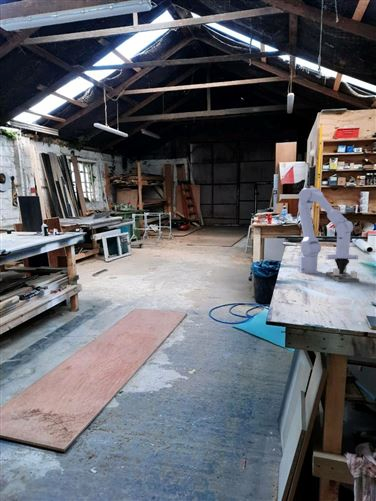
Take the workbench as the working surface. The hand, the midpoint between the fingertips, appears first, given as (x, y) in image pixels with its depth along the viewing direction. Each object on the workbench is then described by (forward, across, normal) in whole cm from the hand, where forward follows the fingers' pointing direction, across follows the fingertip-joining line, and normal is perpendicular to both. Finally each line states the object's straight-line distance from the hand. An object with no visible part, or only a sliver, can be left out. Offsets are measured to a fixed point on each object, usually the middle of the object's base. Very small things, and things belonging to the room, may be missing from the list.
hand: (340, 273), depth 158 cm
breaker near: (0, +4, -6) cm, 7 cm away
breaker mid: (0, -2, 0) cm, 2 cm away
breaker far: (0, +4, +6) cm, 7 cm away
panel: (+2, +1, 0) cm, 2 cm away
